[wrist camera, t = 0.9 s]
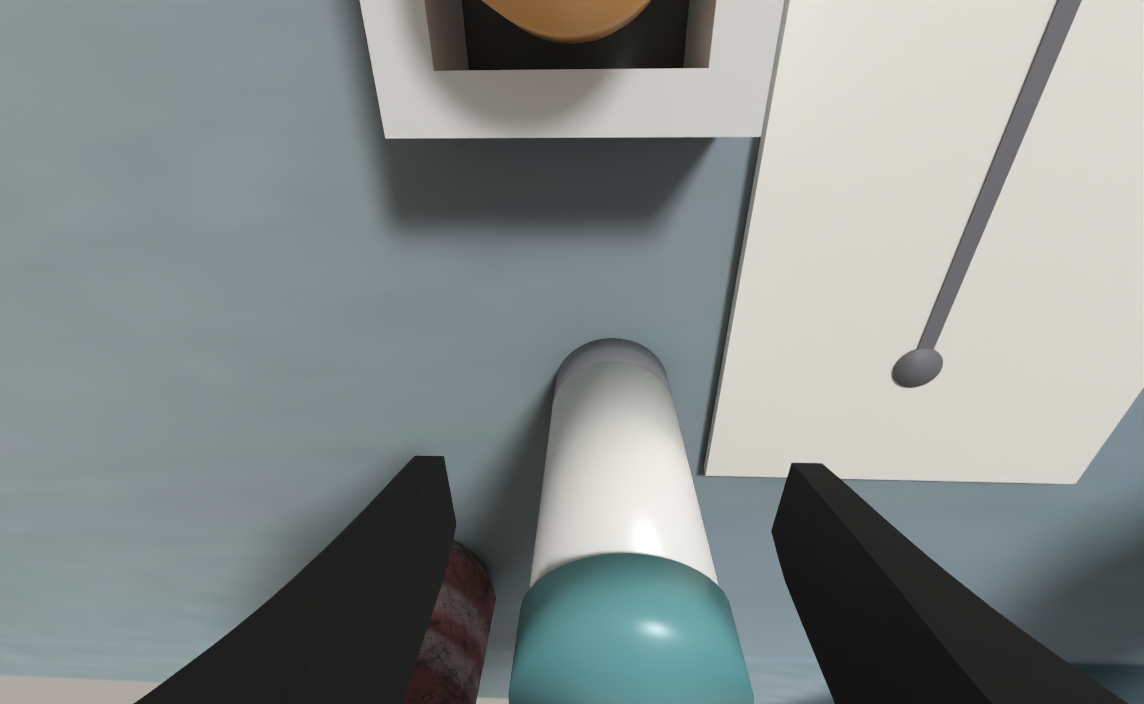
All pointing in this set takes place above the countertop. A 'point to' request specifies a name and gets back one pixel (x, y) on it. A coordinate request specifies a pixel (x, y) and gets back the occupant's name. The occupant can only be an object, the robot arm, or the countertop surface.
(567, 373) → the marker
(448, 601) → the can
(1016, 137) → the paper
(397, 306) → the countertop surface
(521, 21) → the button
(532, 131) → the button housing
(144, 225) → the countertop surface
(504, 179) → the countertop surface
